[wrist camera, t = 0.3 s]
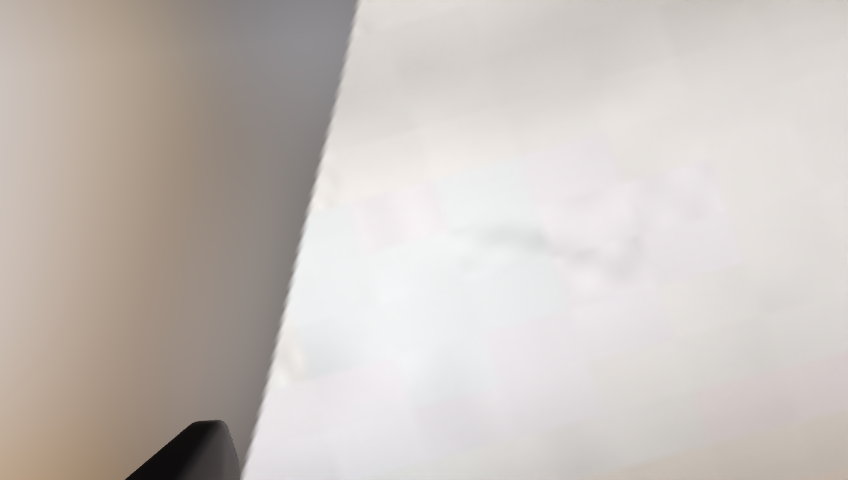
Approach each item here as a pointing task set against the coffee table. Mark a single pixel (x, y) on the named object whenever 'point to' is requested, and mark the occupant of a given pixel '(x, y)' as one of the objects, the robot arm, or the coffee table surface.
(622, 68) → the coffee table surface
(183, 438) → the robot arm
